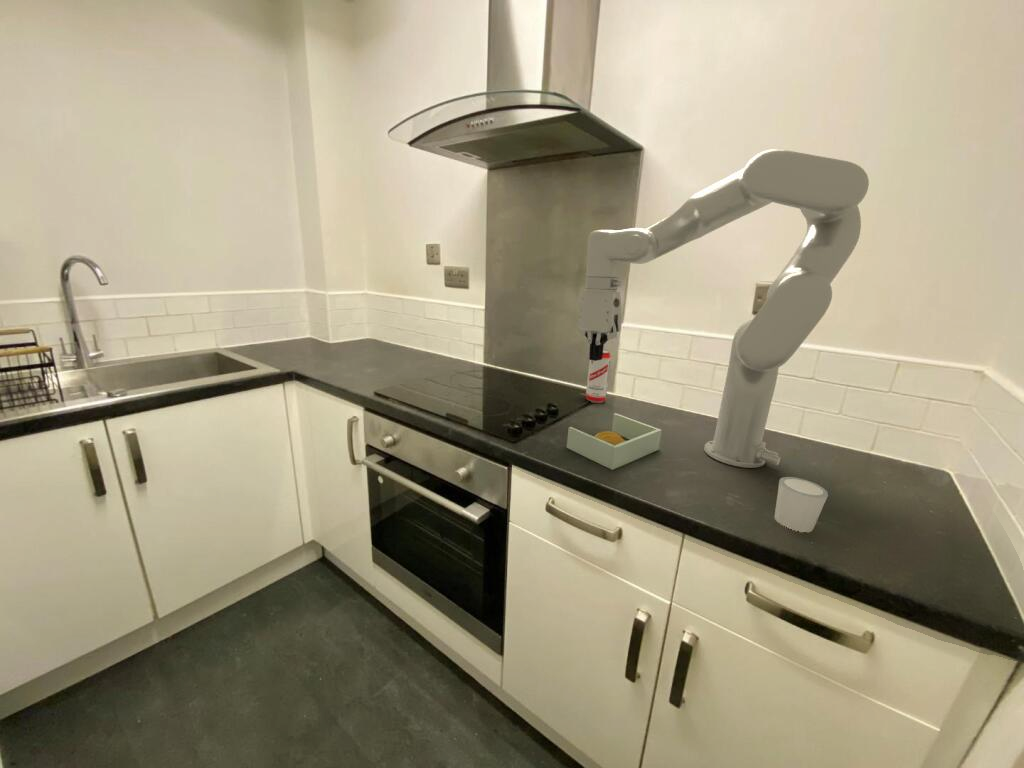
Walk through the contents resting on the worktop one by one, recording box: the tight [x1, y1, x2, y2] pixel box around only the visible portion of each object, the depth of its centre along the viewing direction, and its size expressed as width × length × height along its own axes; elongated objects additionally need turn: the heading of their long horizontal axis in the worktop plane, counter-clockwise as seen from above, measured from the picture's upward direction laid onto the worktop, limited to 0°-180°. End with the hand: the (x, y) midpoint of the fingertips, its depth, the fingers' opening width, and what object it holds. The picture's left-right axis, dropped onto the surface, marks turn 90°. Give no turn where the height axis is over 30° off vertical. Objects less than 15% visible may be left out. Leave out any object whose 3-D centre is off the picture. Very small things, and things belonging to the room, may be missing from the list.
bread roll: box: [594, 430, 626, 446], centre depth 96 cm, size 8×9×4 cm
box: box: [566, 412, 662, 471], centre depth 96 cm, size 13×18×5 cm
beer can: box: [585, 349, 612, 404], centre depth 129 cm, size 6×6×16 cm
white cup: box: [774, 476, 829, 533], centre depth 71 cm, size 7×7×7 cm
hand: (595, 359), depth 105 cm, fingers closed
